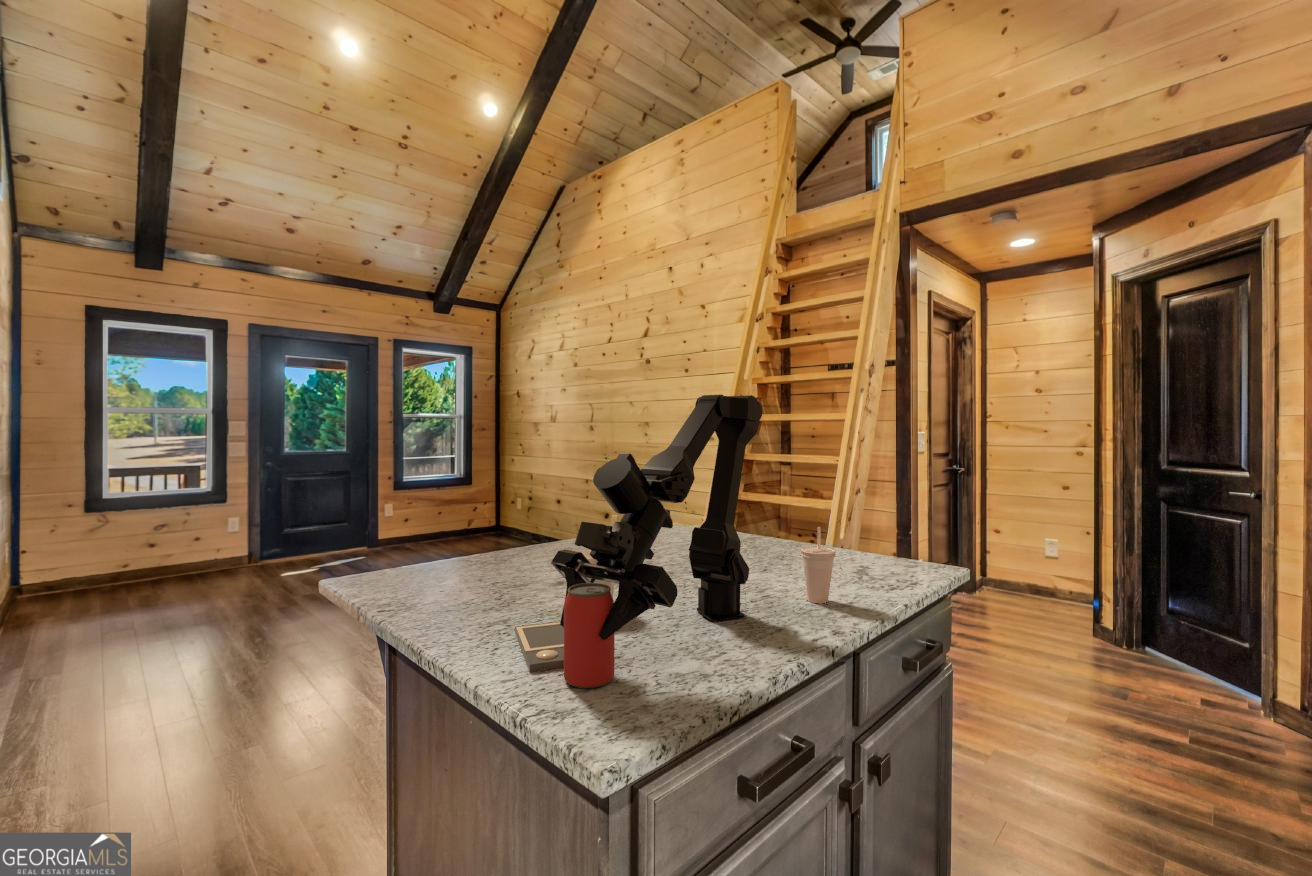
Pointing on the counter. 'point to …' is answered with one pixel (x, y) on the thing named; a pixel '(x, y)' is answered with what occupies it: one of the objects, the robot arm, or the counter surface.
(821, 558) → the smoothie
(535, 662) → the slate card
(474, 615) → the counter surface
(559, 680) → the counter surface
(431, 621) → the counter surface
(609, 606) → the beer can
